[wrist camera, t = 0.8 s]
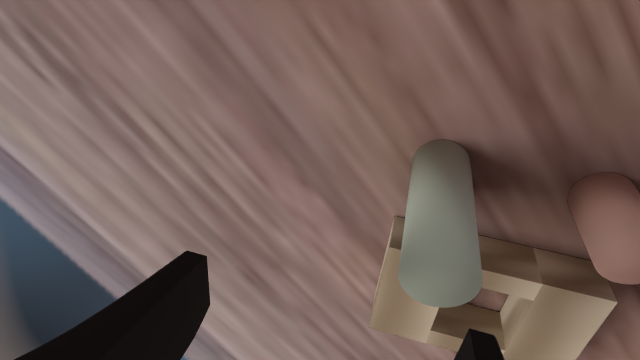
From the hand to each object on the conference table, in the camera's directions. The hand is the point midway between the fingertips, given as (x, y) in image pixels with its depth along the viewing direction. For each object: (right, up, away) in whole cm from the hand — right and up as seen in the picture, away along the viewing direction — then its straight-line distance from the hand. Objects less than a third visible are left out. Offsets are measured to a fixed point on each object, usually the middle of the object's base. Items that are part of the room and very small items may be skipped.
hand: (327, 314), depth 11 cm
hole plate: (+8, -2, +11) cm, 14 cm away
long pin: (+5, +4, +8) cm, 11 cm away
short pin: (+12, +3, +7) cm, 14 cm away
